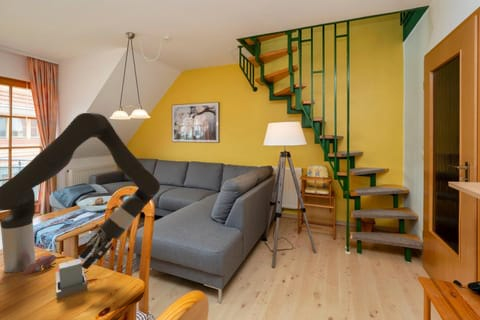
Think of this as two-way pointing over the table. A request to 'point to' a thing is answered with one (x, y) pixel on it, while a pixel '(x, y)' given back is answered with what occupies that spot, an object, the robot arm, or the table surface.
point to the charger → (70, 273)
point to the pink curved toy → (40, 264)
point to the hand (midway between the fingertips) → (82, 262)
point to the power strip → (71, 289)
